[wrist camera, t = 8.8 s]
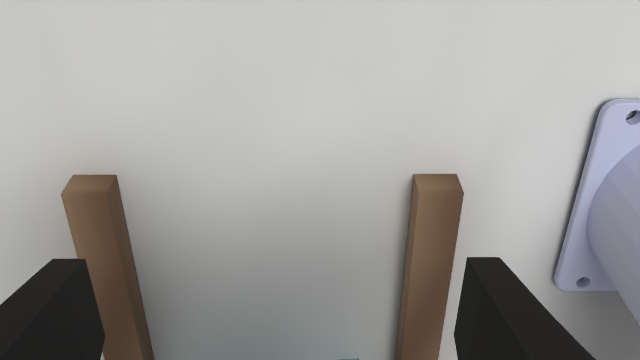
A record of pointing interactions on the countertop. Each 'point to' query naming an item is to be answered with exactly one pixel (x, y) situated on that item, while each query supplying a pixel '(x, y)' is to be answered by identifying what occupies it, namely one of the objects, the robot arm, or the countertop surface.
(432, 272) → the guide lane
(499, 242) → the countertop surface
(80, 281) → the robot arm
